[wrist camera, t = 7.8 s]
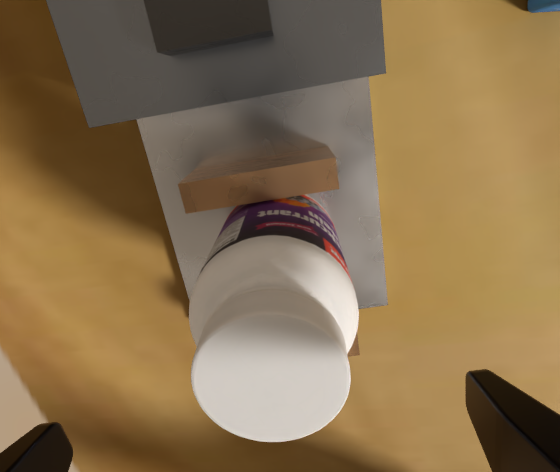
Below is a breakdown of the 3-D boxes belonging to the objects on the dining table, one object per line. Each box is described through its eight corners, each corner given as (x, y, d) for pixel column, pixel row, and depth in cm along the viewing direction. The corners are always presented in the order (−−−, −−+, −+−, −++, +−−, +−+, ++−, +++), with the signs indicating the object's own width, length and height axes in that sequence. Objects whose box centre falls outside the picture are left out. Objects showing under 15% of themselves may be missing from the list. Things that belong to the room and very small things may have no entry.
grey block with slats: (384, 304, 21) (431, 408, 14) (203, 329, 21) (164, 439, 15) (352, -63, 15) (405, -186, 8) (106, -10, 16) (-31, -83, 9)
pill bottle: (358, 224, 18) (428, 360, 9) (294, 306, 20) (299, 491, 11) (260, 161, 17) (231, 244, 8) (202, 253, 19) (123, 406, 10)
